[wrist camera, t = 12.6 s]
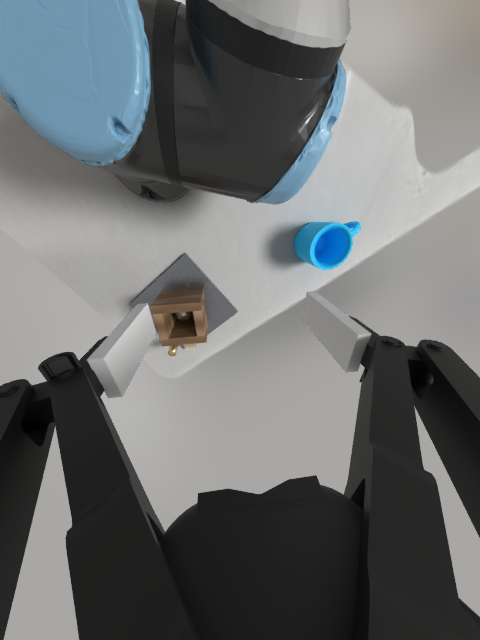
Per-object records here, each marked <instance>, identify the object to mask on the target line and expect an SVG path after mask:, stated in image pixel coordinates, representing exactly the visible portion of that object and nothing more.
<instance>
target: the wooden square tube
mask: <svg viewBox="0 0 480 640" xmlns="http://www.w3.org/2000/svg"><path fill="white" fill-rule="evenodd" d="M150 307H151V311H152V314H153V318H154V321H155V324H156V328H157V331H158V335H159V338H160V341H161V345H162V346H170V345H181V344H184V347H185V351H186V350H195V347H196V343H204V342H206V341H207V329H208V321H207V314H206V306H205V299H204V291H203V289H191V290H176V291H161V292H160V294H159V295H158V296H157V298H156V299H155V300H154V302H153V303H152V304H151V306H150ZM189 311H193V315H194V319H189V320H187V321H181V320H175V315H174V313H176V312H189Z"/></svg>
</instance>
